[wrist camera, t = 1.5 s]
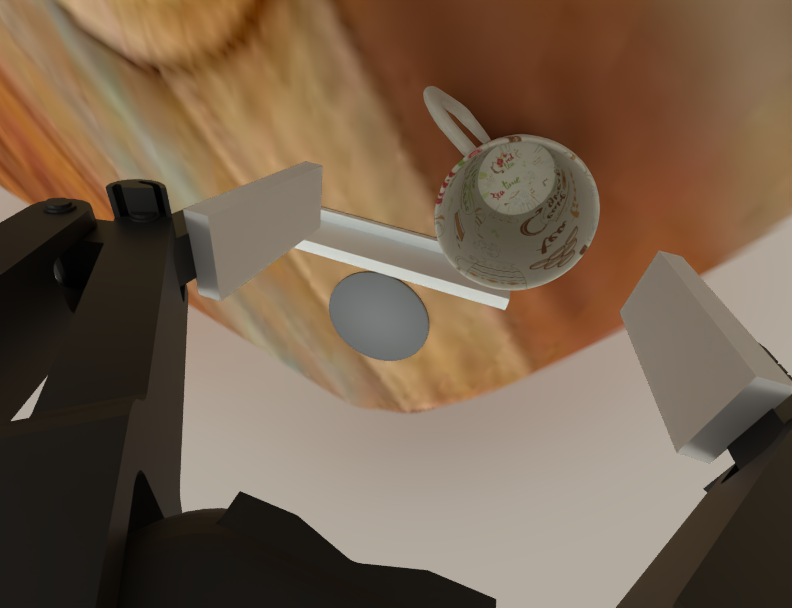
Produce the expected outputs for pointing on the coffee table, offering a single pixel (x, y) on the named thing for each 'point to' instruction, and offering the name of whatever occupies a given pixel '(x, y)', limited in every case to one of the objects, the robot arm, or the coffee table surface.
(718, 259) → the coffee table surface
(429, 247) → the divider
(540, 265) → the mug
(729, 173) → the coffee table surface
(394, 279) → the coaster
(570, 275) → the coffee table surface
